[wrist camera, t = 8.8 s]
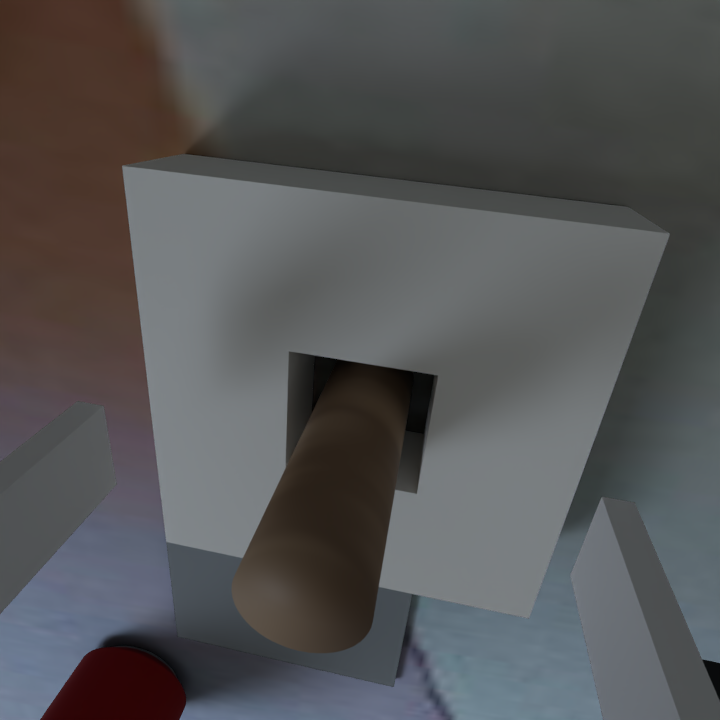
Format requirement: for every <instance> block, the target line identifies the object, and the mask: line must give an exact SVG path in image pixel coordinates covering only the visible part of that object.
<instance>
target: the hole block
mask: <svg viewBox="0 0 720 720" xmlns="http://www.w3.org/2000/svg"><path fill="white" fill-rule="evenodd" d="M122 169H123V177H124V186H125V194H126V203H127V211H128V220H129V228H130V237H131V245H132V254H133V262H134V271H135V279H136V288H137V297H138V305H139V314H140V322H141V331H142V339H143V348H144V356H145V365H146V373H147V382H148V390H149V399H150V407H151V416H152V424H153V433H154V441H155V450H156V459H157V467H158V476H159V484H160V493H161V501H162V510H163V518H164V527H165V535H166V542H169V543H174V544H178V545H183V546H188V547H192V548H197V549H202V550H207V551H211V552H216V553H221V554H226V555H230V556H235V557H240V558H243V557H244V554H245V552H246V550H247V548H248V546H249V544H250V542H251V540H252V538H253V536H254V534H255V531H256V529H257V527H258V525H259V523H260V521H261V519H262V517H263V515H264V513H265V510H266V508H267V506H268V504H269V502H270V500H271V498H272V496H273V494H274V492H275V489H276V487H277V485H278V483H279V481H280V479H281V477H282V475H283V473H284V471H285V468H286V466H287V464H288V462H289V460H290V458H291V456H292V454H293V452H294V450H295V447H296V445H297V443H298V441H299V439H300V437H301V435H302V433H303V431H304V429H305V426H306V424H307V422H308V420H309V418H310V416H311V414H312V401H313V383H314V364H315V356H321V357H327V358H334V359H340V360H346V361H352V362H358V363H364V364H371V365H377V366H383V367H389V368H395V369H402V370H408V371H414V372H420V373H426V374H433V375H434V379H433V385H432V390H431V396H430V402H429V407H428V413H427V418H426V424H425V430H424V434H423V433H417V432H411V431H406V430H405V435H404V440H403V446H402V452H401V458H400V464H399V470H398V476H397V482H396V488H395V494H394V499H393V505H392V511H391V517H390V523H389V529H388V535H387V541H386V547H385V553H384V558H383V564H382V570H381V576H380V582H379V587H382V588H386V589H391V590H396V591H401V592H405V593H410V594H415V595H420V596H424V597H429V598H434V599H438V600H443V601H448V602H453V603H457V604H462V605H467V606H472V607H476V608H481V609H486V610H490V611H495V612H500V613H505V614H509V615H514V616H519V617H524V618H528V619H529V617H530V614H531V612H532V609H533V606H534V603H535V601H536V598H537V595H538V593H539V590H540V587H541V584H542V582H543V579H544V576H545V573H546V571H547V568H548V565H549V563H550V560H551V557H552V554H553V552H554V549H555V546H556V543H557V541H558V538H559V535H560V533H561V530H562V527H563V524H564V522H565V519H566V516H567V513H568V511H569V508H570V505H571V503H572V500H573V497H574V494H575V492H576V489H577V486H578V483H579V481H580V478H581V475H582V473H583V470H584V467H585V464H586V462H587V459H588V456H589V454H590V451H591V448H592V445H593V443H594V440H595V437H596V434H597V432H598V429H599V426H600V424H601V421H602V418H603V415H604V413H605V410H606V407H607V404H608V402H609V399H610V396H611V394H612V391H613V388H614V385H615V383H616V380H617V377H618V374H619V372H620V369H621V366H622V364H623V361H624V358H625V355H626V353H627V350H628V347H629V345H630V342H631V339H632V336H633V334H634V331H635V328H636V325H637V323H638V320H639V317H640V315H641V312H642V309H643V306H644V304H645V301H646V298H647V295H648V293H649V290H650V287H651V285H652V282H653V279H654V276H655V274H656V271H657V268H658V265H659V263H660V260H661V257H662V255H663V252H664V249H665V246H666V244H667V241H668V238H669V235H670V233H668V232H667V231H665V230H664V229H662V228H660V227H659V226H657V225H656V224H654V223H653V222H651V221H650V220H648V219H646V218H645V217H643V216H642V215H640V214H639V213H637V212H636V211H634V210H632V209H631V208H629V207H625V206H617V205H608V204H600V203H591V202H583V201H575V200H566V199H558V198H550V197H541V196H533V195H524V194H516V193H508V192H499V191H491V190H483V189H474V188H466V187H457V186H449V185H441V184H432V183H424V182H415V181H407V180H399V179H390V178H382V177H374V176H365V175H357V174H348V173H340V172H332V171H323V170H315V169H307V168H298V167H290V166H281V165H273V164H265V163H256V162H248V161H239V160H231V159H223V158H214V157H206V156H198V155H189V154H181V155H176V156H170V157H165V158H160V159H155V160H150V161H145V162H139V163H134V164H129V165H124V166H122Z"/></svg>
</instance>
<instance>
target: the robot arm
mask: <svg viewBox="0 0 720 720" xmlns="http://www.w3.org/2000/svg"><path fill="white" fill-rule="evenodd" d="M116 485H117V483H116V477H115V471H114V465H113V459H112V453H111V447H110V441H109V435H108V429H107V423H106V417H105V411H104V406H102V405H96V404H91V403H85V402H80V401H77V402H76V403H75V404H73V405H72V406H71V407H70V408H68V409H67V410H66V411H64V412H63V413H62V414H61V415H59V416H58V417H57V418H56V419H54V420H53V421H52V422H50V423H49V424H48V425H47V426H45V427H44V428H43V429H42V430H40V431H39V432H38V433H36V434H35V435H34V436H33V437H31V438H30V439H29V440H27V441H26V442H25V443H24V444H22V445H21V446H20V447H19V448H17V449H16V450H15V451H13V452H12V453H11V454H10V455H8V456H7V457H6V458H4V459H3V460H2V461H1V462H0V614H1V613H2V611H3V610H4V609H5V608H6V607H7V606H8V605H9V604H10V602H11V601H12V600H13V599H14V598H15V597H16V596H17V595H18V594H19V592H20V591H21V590H22V589H23V588H24V587H25V586H26V585H27V584H28V582H29V581H30V580H31V579H32V578H33V577H34V576H35V575H36V574H37V572H38V571H39V570H40V569H41V568H42V567H43V566H44V565H45V564H46V562H47V561H48V560H49V559H50V558H51V557H52V556H53V555H54V554H55V552H56V551H57V550H58V549H59V548H60V547H61V546H62V545H63V544H64V542H65V541H66V540H67V539H68V538H69V537H70V536H71V535H72V534H73V532H74V531H75V530H76V529H77V528H78V527H79V526H80V525H81V524H82V522H83V521H84V520H85V519H86V518H87V517H88V516H89V515H90V514H91V512H92V511H93V510H94V509H95V508H96V507H97V506H98V505H99V503H100V502H101V501H102V500H103V499H104V498H105V497H106V496H107V495H108V493H109V492H110V491H111V490H112V489H113V488H114V487H115V486H116ZM570 576H571V580H572V585H573V589H574V594H575V598H576V602H577V607H578V611H579V616H580V620H581V624H582V629H583V633H584V637H585V642H586V646H587V651H588V655H589V659H590V664H591V668H592V673H593V677H594V681H595V686H596V690H597V695H598V699H599V703H600V708H601V712H602V716H603V720H720V663H716V662H712V661H707V660H702V658H701V656H700V654H699V651H698V649H697V647H696V644H695V642H694V640H693V637H692V635H691V633H690V630H689V628H688V626H687V623H686V621H685V619H684V616H683V614H682V612H681V609H680V607H679V605H678V602H677V600H676V598H675V595H674V593H673V591H672V588H671V586H670V584H669V581H668V579H667V577H666V574H665V572H664V570H663V567H662V565H661V563H660V560H659V558H658V556H657V553H656V551H655V549H654V546H653V544H652V542H651V539H650V537H649V535H648V532H647V530H646V528H645V525H644V523H643V521H642V518H641V516H640V514H639V511H638V509H637V507H636V505H635V502H629V501H624V500H618V499H613V498H607V497H601V500H600V502H599V505H598V507H597V510H596V512H595V515H594V517H593V520H592V522H591V525H590V527H589V530H588V532H587V535H586V537H585V540H584V542H583V545H582V547H581V550H580V552H579V555H578V557H577V560H576V562H575V565H574V567H573V570H572V572H571V575H570Z"/></svg>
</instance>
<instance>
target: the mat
mask: <svg viewBox="0 0 720 720" xmlns="http://www.w3.org/2000/svg"><path fill="white" fill-rule="evenodd" d="M166 543H167V551H168V560H169V568H170V577H171V586H172V594H173V603H174V611H175V620H176V628H177V637H181V638H185V639H189V640H194V641H198V642H202V643H207V644H211V645H215V646H220V647H224V648H228V649H232V650H237V651H241V652H245V653H250V654H254V655H258V656H262V657H267V658H271V659H275V660H280V661H284V662H288V663H292V664H297V665H301V666H305V667H310V668H314V669H318V670H322V671H327V672H331V673H335V674H340V675H344V676H348V677H353V678H357V679H361V680H365V681H370V682H374V683H378V684H383V685H387V686H391V687H394V683H395V678H396V673H397V668H398V663H399V658H400V653H401V648H402V643H403V638H404V633H405V628H406V623H407V618H408V613H409V608H410V603H411V598H412V594H410V593H405V592H401V591H396V590H391V589H386V588H382V587H379V588H378V594H377V600H376V606H375V612H374V618H373V623H372V627H371V629H370V631H369V633H368V634H367V636H366V637H365V638H364V639H363V640H362V641H361V642H359V643H358V644H356V645H355V646H353V647H351V648H349V649H346V650H343V651H339V652H334V653H308V652H302V651H298V650H294V649H290V648H287V647H285V646H282V645H280V644H277V643H275V642H273V641H271V640H269V639H268V638H266V637H264V636H263V635H261V634H260V633H258V632H257V631H256V630H255V629H253V628H252V627H251V626H250V625H249V624H248V623H247V622H246V621H245V620H244V618H243V617H242V616H241V614H240V613H239V611H238V610H237V608H236V606H235V604H234V600H233V597H232V581H233V578H234V576H235V573H236V571H237V569H238V567H239V565H240V563H241V561H242V559H243V558H240V557H235V556H230V555H226V554H221V553H216V552H211V551H207V550H202V549H197V548H192V547H188V546H183V545H178V544H174V543H169V542H166Z"/></svg>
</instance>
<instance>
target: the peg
mask: <svg viewBox="0 0 720 720" xmlns="http://www.w3.org/2000/svg"><path fill="white" fill-rule="evenodd" d="M413 380H414V375H413V371H408V370H402V369H395V368H389V367H383V366H377V365H371V364H364V363H358V362H352V361H346V360H340V359H337V361H336V363H335V366H334V368H333V370H332V372H331V374H330V376H329V378H328V380H327V382H326V384H325V387H324V389H323V391H322V393H321V395H320V397H319V399H318V401H317V403H316V405H315V408H314V410H313V412H312V414H311V416H310V418H309V420H308V422H307V424H306V426H305V429H304V431H303V433H302V435H301V437H300V439H299V441H298V443H297V445H296V447H295V450H294V452H293V454H292V456H291V458H290V460H289V462H288V464H287V466H286V468H285V471H284V473H283V475H282V477H281V479H280V481H279V483H278V485H277V487H276V489H275V492H274V494H273V496H272V498H271V500H270V502H269V504H268V506H267V508H266V510H265V513H264V515H263V517H262V519H261V521H260V523H259V525H258V527H257V529H256V531H255V534H254V536H253V538H252V540H251V542H250V544H249V546H248V548H247V550H246V552H245V554H244V557H243V559H242V561H241V563H240V565H239V567H238V569H237V571H236V573H235V576H234V578H233V581H232V597H233V600H234V604H235V606H236V608H237V610H238V611H239V613H240V614H241V616H242V617H243V618H244V620H245V621H246V622H247V623H248V624H249V625H250V626H251V627H252V628H253V629H255V630H256V631H257V632H258V633H260V634H261V635H263V636H264V637H266V638H268V639H269V640H271V641H273V642H275V643H277V644H280V645H282V646H285V647H287V648H290V649H294V650H298V651H302V652H308V653H334V652H339V651H343V650H346V649H349V648H351V647H353V646H355V645H356V644H358V643H359V642H361V641H362V640H363V639H364V638H365V637H366V636H367V634H368V633H369V631H370V629H371V627H372V623H373V618H374V612H375V606H376V600H377V594H378V588H379V582H380V576H381V570H382V564H383V558H384V553H385V547H386V541H387V535H388V529H389V523H390V517H391V511H392V505H393V499H394V494H395V488H396V482H397V476H398V470H399V464H400V458H401V452H402V446H403V440H404V435H405V429H406V423H407V417H408V411H409V405H410V399H411V393H412V387H413Z"/></svg>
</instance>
